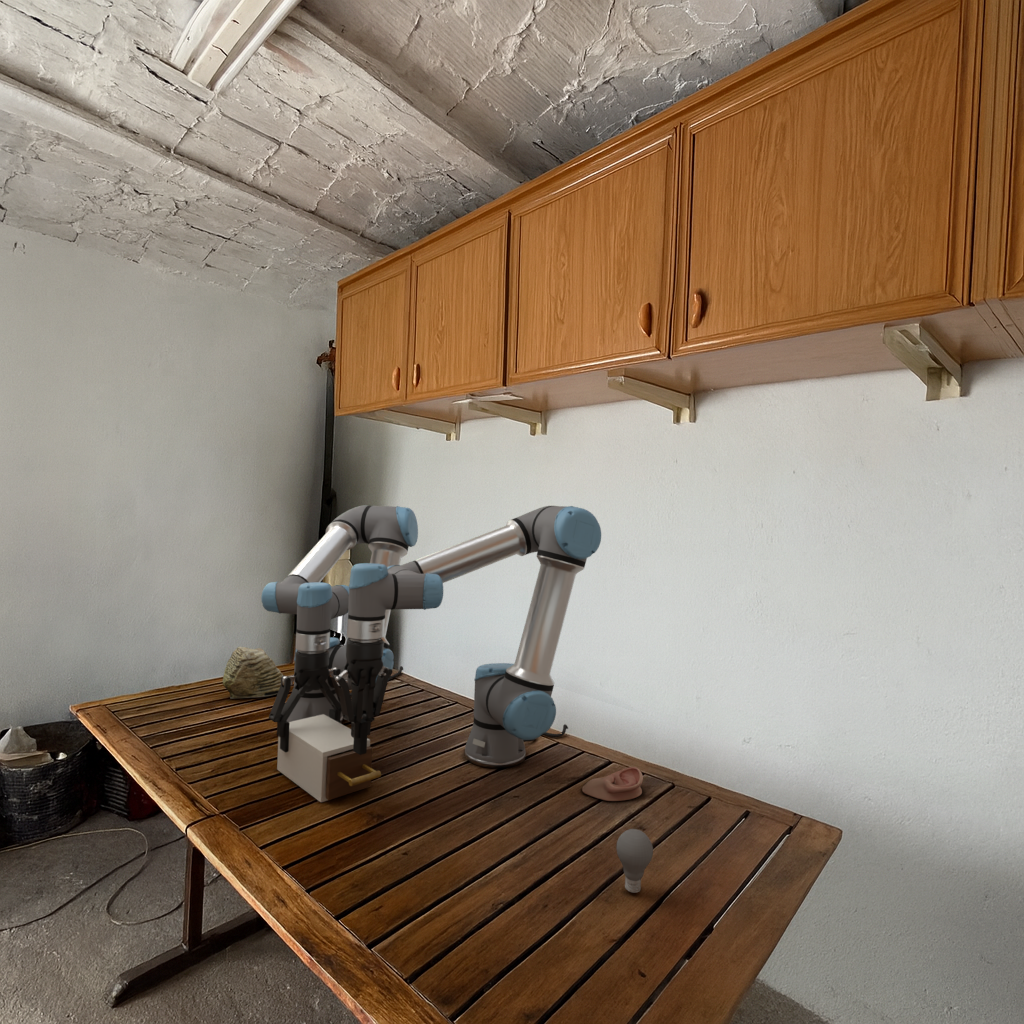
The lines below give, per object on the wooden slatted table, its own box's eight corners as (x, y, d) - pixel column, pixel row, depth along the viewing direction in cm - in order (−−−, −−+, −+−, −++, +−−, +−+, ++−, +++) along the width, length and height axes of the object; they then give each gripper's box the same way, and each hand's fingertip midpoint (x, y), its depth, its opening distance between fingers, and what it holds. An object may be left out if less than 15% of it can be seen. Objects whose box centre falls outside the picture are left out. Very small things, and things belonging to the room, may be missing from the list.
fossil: (218, 695, 195) (220, 647, 195) (278, 685, 208) (279, 640, 207) (228, 703, 189) (230, 653, 188) (289, 692, 201) (290, 645, 201)
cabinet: (368, 786, 139) (370, 739, 139) (320, 802, 131) (322, 752, 131) (321, 756, 154) (323, 714, 154) (276, 769, 146) (278, 724, 146)
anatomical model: (581, 779, 138) (585, 758, 149) (580, 797, 138) (585, 775, 149) (643, 787, 135) (643, 766, 147) (642, 806, 136) (642, 783, 147)
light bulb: (610, 879, 108) (613, 822, 108) (644, 879, 109) (647, 822, 109) (619, 902, 102) (622, 840, 102) (655, 901, 103) (658, 840, 103)
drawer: (386, 796, 133) (388, 756, 133) (343, 811, 126) (345, 769, 126) (326, 757, 151) (328, 722, 151) (286, 769, 144) (287, 732, 144)
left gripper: (269, 661, 135) (265, 762, 136) (365, 646, 152) (362, 736, 153) (254, 654, 141) (251, 751, 141) (349, 640, 158) (346, 727, 158)
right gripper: (346, 646, 124) (340, 766, 124) (402, 638, 133) (396, 750, 133) (327, 638, 129) (321, 753, 129) (382, 632, 138) (376, 739, 138)
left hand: (308, 743), depth 147 cm, fingers closed on cabinet, 11 cm apart
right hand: (359, 751), depth 131 cm, fingers closed
